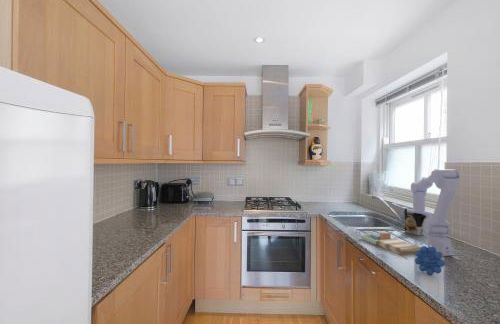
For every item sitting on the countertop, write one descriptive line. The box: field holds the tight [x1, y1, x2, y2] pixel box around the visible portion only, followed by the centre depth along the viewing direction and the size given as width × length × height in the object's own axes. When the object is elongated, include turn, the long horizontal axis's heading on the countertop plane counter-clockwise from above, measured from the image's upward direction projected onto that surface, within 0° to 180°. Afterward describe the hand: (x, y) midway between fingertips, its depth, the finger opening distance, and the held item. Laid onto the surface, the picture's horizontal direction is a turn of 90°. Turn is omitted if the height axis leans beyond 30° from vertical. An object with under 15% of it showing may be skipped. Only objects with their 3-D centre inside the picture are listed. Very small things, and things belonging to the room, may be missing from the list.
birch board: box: [377, 238, 422, 256], centre depth 133 cm, size 16×12×3 cm
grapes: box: [414, 245, 446, 276], centre depth 102 cm, size 12×7×12 cm, turn 20°
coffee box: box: [404, 207, 424, 236], centre depth 166 cm, size 9×6×16 cm
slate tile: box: [370, 233, 380, 240], centre depth 150 cm, size 5×5×2 cm
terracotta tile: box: [379, 231, 392, 240], centre depth 146 cm, size 5×5×2 cm
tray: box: [359, 233, 395, 246], centre depth 148 cm, size 13×14×2 cm
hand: (419, 226), depth 144 cm, fingers closed
